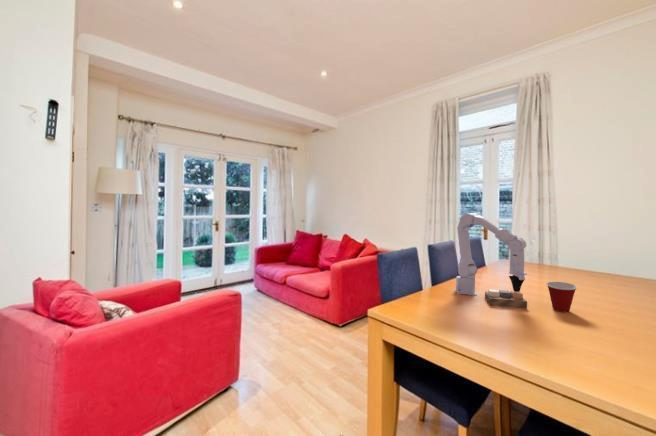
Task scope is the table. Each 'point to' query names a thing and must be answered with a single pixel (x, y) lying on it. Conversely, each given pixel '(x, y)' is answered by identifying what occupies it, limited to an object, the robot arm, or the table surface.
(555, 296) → the plastic cup
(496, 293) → the ivory key
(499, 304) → the key box
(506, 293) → the charcoal key
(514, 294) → the terracotta key
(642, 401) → the table surface
